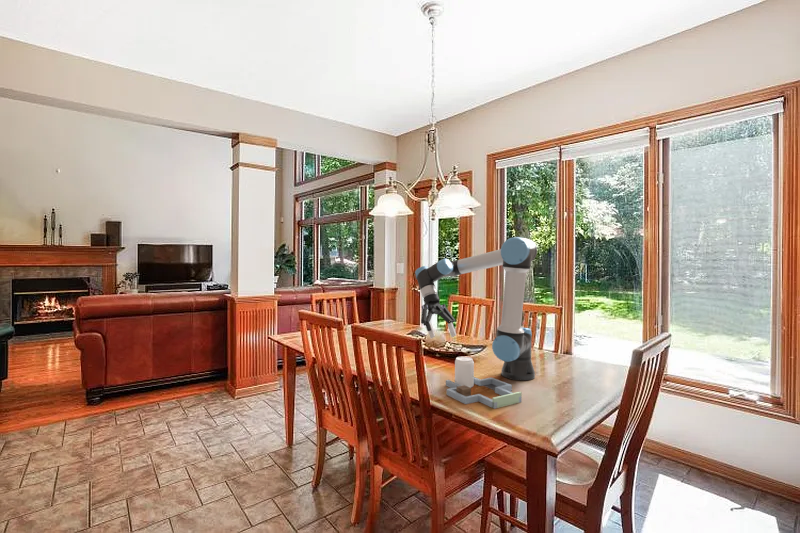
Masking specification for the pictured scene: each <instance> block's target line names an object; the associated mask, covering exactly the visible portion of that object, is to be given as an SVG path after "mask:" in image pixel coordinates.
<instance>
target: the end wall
mask: <svg viewBox="0 0 800 533" xmlns="http://www.w3.org/2000/svg"><path fill="white" fill-rule="evenodd" d="M522 395H523V394H522V392H521V391H517V392H513V393H511V394H507V395H499V396H498V395H497V396H494V397H491V399H492V403H493V404H494V403H495V402H497V408H496V409H499V408H502V407H506V406H510V405H511V406H512V405H515V404H519V397H520V396H522ZM491 409H494V406H493V405H492V407H491Z"/></svg>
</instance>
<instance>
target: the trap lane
mask: <svg viewBox="0 0 800 533" xmlns="http://www.w3.org/2000/svg"><path fill="white" fill-rule="evenodd" d="M474 385H477V386H479V387H485V388H487V389H490V390H492V391H494V393H495V394H496V395H497V394H498V395H499V396H502V395H507V394H511V393H514V392H512V389H513V387H512V386H513V384H510V383H507V382H505V381H502V380H500V379H497V378H494V377H492V376H491V377H487V378H482V379H480V378H478V377H475V376H474ZM458 386H461V385H459V384H457V383H455V381H452V380H450V379H446V380H445V387H448V388H446V395H447V396H448V397H450V398H452V399H454V400H456V401H458V402H460V403H462V404H464V405H469V404H474V403H477V402H480V403H481V404H483V405H486V406H488V407H490V408H492V405H493V406H494V408H493V409H498V408H497V402H495V403H494V404H493V403H492V398H489V397H488V396H485V395H483V394H481V393H476V394H471V396H464V395H462V394H460V393H458V392H457V387H458ZM519 403H522V396H520V397H519ZM519 403H518V404H519Z"/></svg>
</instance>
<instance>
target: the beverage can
mask: <svg viewBox="0 0 800 533" xmlns="http://www.w3.org/2000/svg"><path fill="white" fill-rule="evenodd" d="M474 375H475V362H474V360H473V358H472V357H469V356H457V357H456V358H455V360H454V383H457V384H459V385H461V386H463V385H465V386H467V387H470V388H473V387H474V385H475V384H474V377H475V376H474Z"/></svg>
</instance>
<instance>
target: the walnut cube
mask: <svg viewBox="0 0 800 533" xmlns="http://www.w3.org/2000/svg"><path fill="white" fill-rule="evenodd" d="M457 392H458V393H460V394H462V395H464V396H471V395H472V387H467V386H465V385H463V386H458V387H457Z"/></svg>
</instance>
